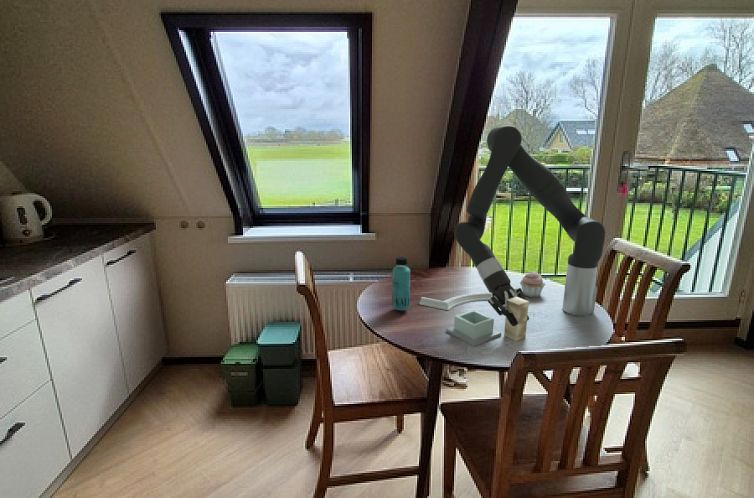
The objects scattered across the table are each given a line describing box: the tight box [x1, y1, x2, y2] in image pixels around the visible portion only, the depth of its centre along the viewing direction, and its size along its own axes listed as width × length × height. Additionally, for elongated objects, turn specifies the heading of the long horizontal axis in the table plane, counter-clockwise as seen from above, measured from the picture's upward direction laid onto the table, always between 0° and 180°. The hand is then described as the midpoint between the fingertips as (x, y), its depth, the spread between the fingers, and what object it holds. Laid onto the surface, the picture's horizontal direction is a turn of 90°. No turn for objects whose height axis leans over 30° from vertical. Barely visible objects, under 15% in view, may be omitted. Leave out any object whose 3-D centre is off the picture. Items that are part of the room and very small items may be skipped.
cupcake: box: [519, 269, 546, 298], centre depth 159 cm, size 9×9×10 cm
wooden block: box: [503, 297, 530, 342], centre depth 127 cm, size 4×4×12 cm
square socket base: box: [445, 309, 502, 347], centre depth 130 cm, size 12×12×6 cm
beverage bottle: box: [391, 256, 411, 311], centre depth 145 cm, size 6×7×20 cm
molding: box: [418, 285, 518, 312], centre depth 156 cm, size 42×12×3 cm, turn 105°
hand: (521, 322), depth 125 cm, fingers closed on wooden block, 4 cm apart
